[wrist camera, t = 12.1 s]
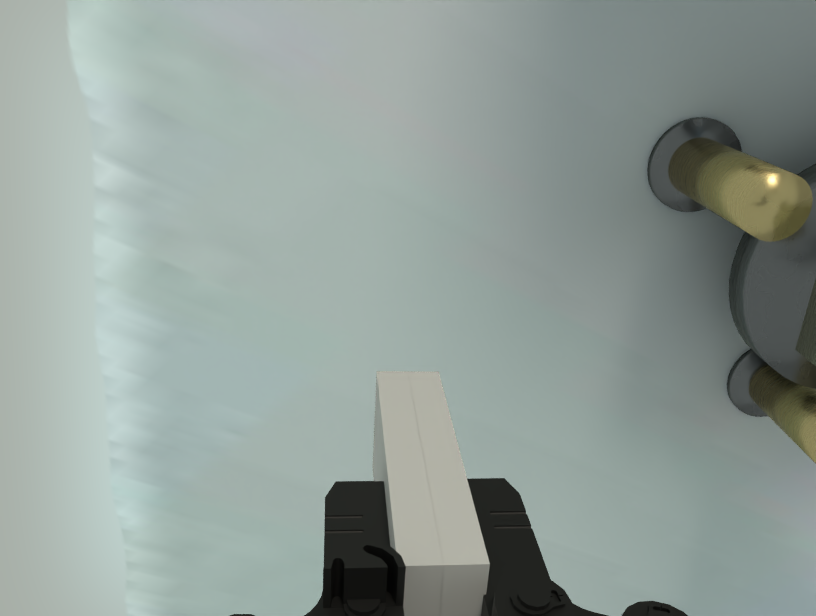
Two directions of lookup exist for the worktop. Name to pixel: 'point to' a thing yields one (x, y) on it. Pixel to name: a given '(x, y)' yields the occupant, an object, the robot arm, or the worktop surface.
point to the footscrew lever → (787, 406)
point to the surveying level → (751, 245)
